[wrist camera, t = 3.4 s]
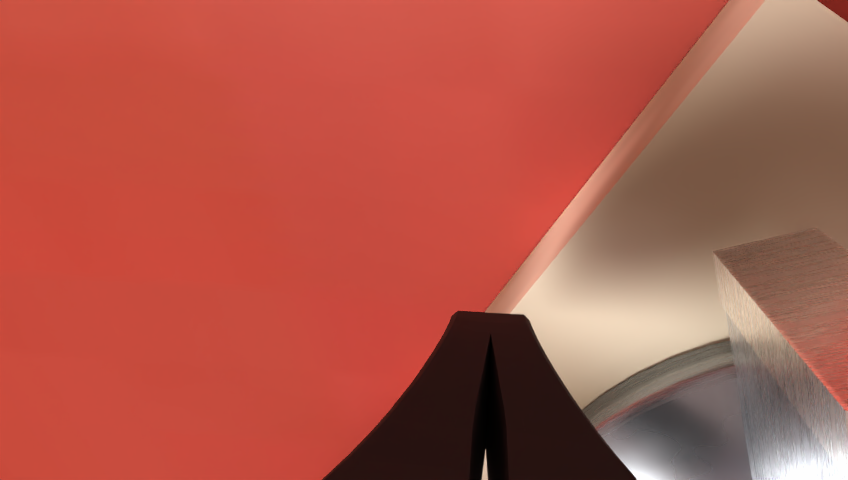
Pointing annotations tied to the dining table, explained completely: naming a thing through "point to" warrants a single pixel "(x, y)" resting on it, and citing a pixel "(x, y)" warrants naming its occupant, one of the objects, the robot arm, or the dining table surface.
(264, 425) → the dining table surface
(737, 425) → the dial
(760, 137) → the stand plate
